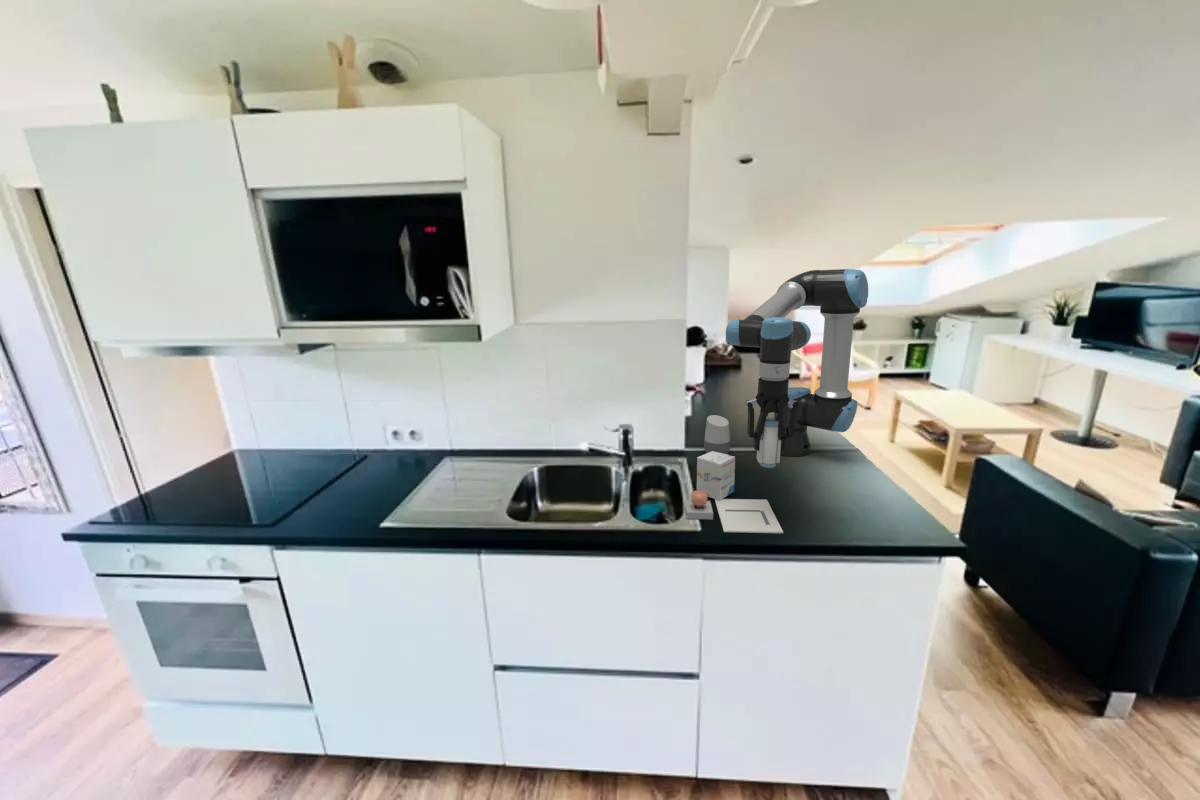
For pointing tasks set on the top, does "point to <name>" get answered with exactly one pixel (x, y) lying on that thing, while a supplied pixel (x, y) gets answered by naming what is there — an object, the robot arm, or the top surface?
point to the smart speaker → (717, 435)
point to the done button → (699, 498)
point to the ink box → (716, 474)
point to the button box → (698, 511)
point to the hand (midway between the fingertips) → (767, 461)
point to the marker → (770, 442)
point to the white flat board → (747, 516)
